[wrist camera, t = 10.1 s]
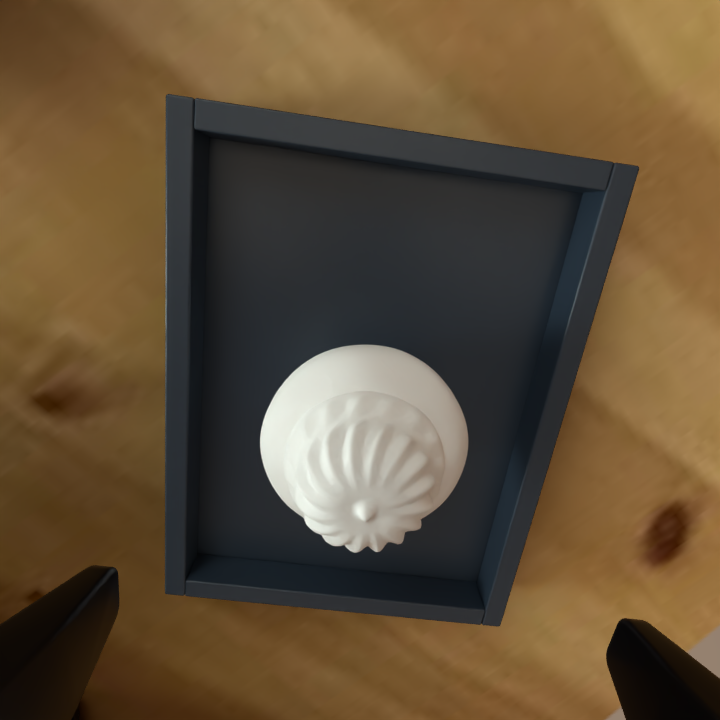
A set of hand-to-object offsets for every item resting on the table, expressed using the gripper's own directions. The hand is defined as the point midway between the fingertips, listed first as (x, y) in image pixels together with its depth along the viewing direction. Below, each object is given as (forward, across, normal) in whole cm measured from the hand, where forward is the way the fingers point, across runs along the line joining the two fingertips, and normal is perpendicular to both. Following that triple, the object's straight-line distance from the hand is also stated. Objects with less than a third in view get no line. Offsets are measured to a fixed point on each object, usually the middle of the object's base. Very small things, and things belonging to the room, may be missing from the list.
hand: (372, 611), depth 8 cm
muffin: (+10, 0, 0) cm, 10 cm away
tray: (+10, 0, 0) cm, 10 cm away
